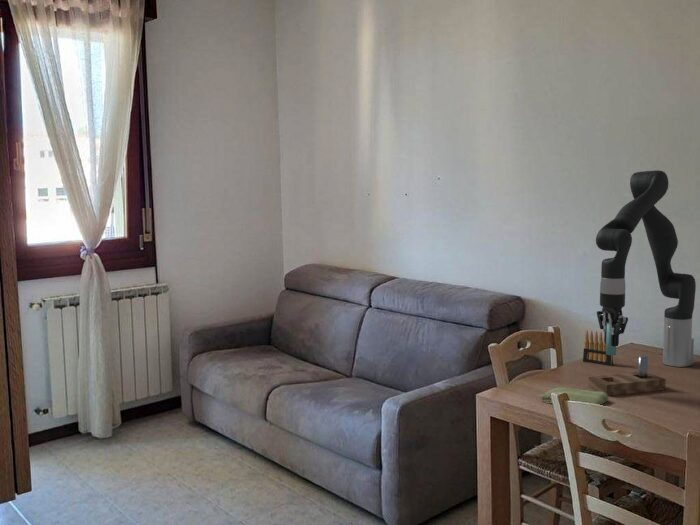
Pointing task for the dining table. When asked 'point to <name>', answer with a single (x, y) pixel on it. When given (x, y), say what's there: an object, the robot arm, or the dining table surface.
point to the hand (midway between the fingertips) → (611, 344)
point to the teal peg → (609, 342)
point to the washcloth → (578, 395)
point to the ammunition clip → (596, 350)
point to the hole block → (626, 383)
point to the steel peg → (642, 367)
